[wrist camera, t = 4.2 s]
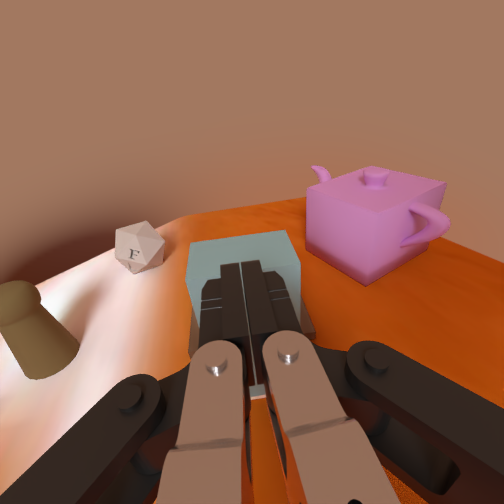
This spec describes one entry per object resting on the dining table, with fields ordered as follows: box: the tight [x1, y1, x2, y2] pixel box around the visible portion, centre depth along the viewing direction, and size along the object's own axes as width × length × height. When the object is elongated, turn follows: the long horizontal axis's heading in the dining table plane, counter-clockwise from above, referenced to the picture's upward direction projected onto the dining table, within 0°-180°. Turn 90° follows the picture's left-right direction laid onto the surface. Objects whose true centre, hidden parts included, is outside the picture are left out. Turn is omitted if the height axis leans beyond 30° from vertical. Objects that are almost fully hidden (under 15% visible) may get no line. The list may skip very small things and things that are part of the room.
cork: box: [0, 281, 79, 380], centre depth 31 cm, size 6×6×11 cm
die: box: [115, 221, 165, 274], centre depth 48 cm, size 8×9×10 cm
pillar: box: [185, 230, 301, 400], centre depth 25 cm, size 8×5×16 cm, turn 97°
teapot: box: [306, 165, 451, 287], centre depth 45 cm, size 15×25×14 cm, turn 32°
